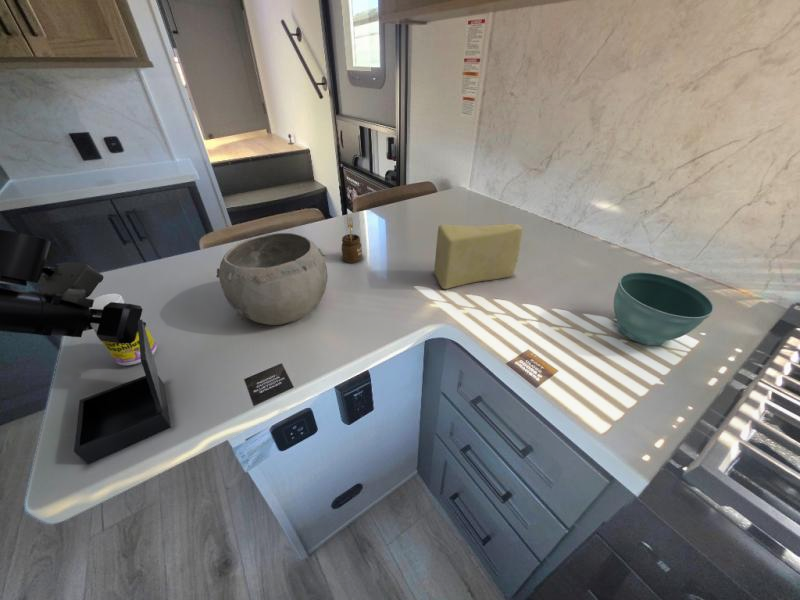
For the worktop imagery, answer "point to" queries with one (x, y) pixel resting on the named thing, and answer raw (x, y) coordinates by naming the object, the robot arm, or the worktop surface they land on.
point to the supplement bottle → (121, 351)
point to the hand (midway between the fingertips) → (128, 323)
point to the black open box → (118, 419)
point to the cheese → (476, 253)
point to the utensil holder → (351, 246)
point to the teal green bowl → (658, 307)
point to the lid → (149, 366)
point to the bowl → (274, 278)
